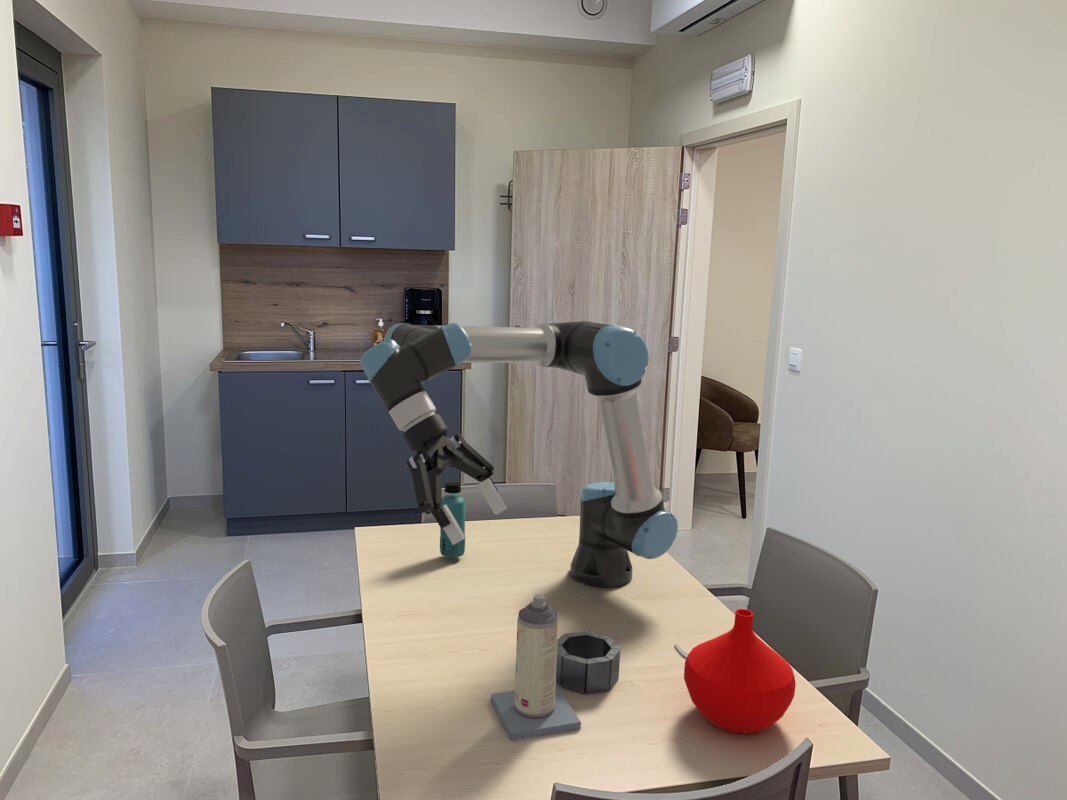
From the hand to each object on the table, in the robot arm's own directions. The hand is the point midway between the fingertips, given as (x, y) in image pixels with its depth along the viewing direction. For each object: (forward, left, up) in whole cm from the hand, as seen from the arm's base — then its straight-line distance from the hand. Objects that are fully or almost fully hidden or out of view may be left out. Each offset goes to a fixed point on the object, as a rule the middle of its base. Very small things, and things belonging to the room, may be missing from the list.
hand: (481, 526), depth 139 cm
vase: (-40, +23, -30) cm, 55 cm away
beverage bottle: (-9, -58, -30) cm, 66 cm away
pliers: (-46, +6, -30) cm, 55 cm away
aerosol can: (-7, +13, -29) cm, 32 cm away
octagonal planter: (-20, +4, -30) cm, 36 cm away
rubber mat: (-7, +13, -30) cm, 33 cm away
